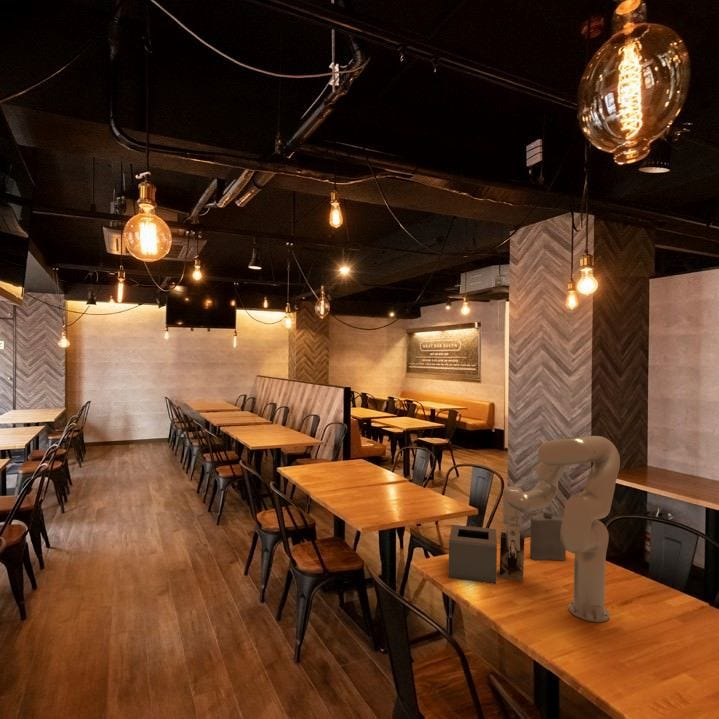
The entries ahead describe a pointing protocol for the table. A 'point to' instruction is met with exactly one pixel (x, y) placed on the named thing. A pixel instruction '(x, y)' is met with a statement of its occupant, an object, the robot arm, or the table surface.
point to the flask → (546, 538)
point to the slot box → (473, 554)
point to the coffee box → (504, 554)
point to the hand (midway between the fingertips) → (511, 563)
